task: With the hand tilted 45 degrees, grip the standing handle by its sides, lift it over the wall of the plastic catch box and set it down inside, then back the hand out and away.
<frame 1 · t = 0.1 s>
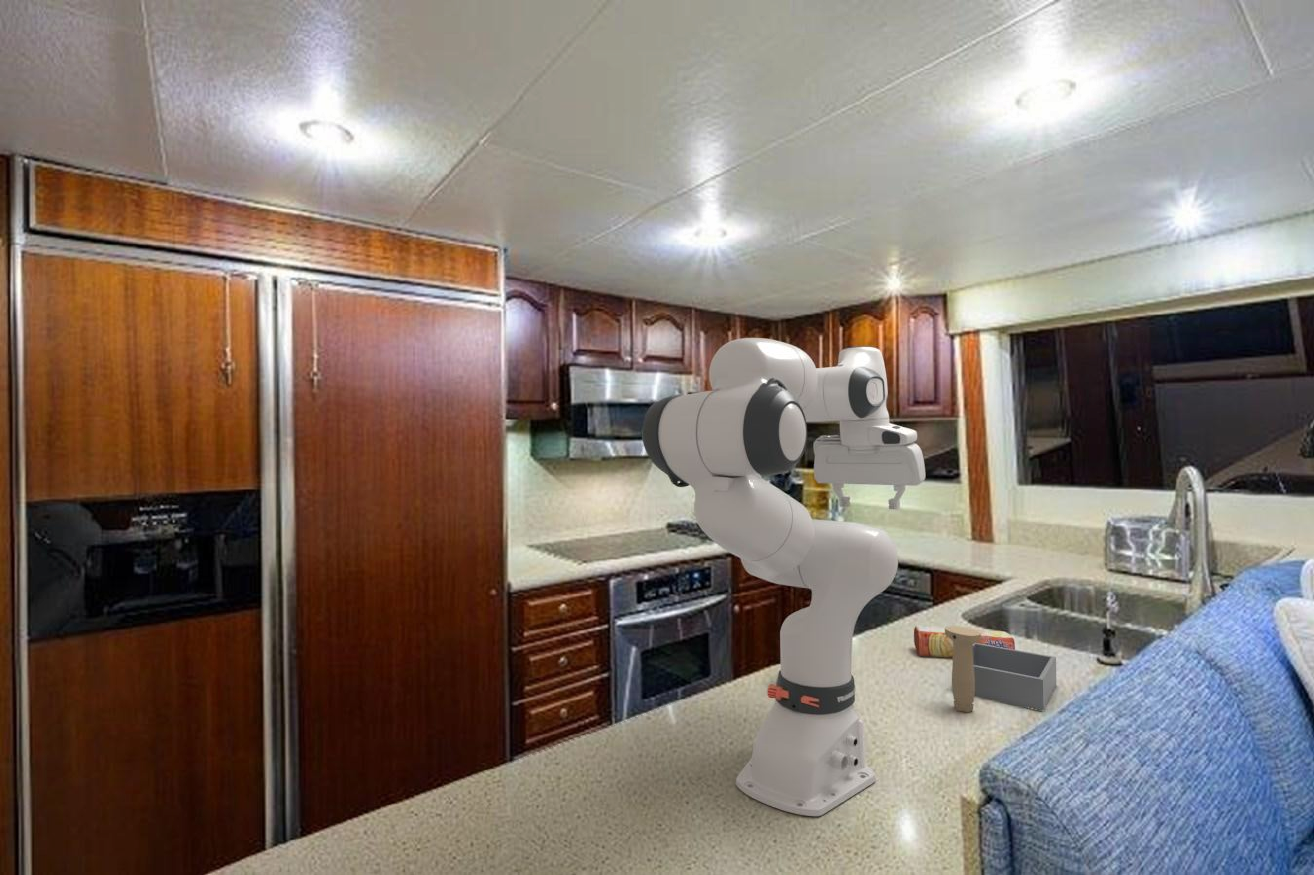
hand: (869, 507, 121), 39 cm above the countertop, tool pointing down, fingers open, 8 cm apart
supplement box: (817, 687, 136), on the countertop
catch box: (1005, 688, 133), on the countertop
snack package: (963, 658, 153), on the countertop
handle: (963, 710, 123), on the countertop
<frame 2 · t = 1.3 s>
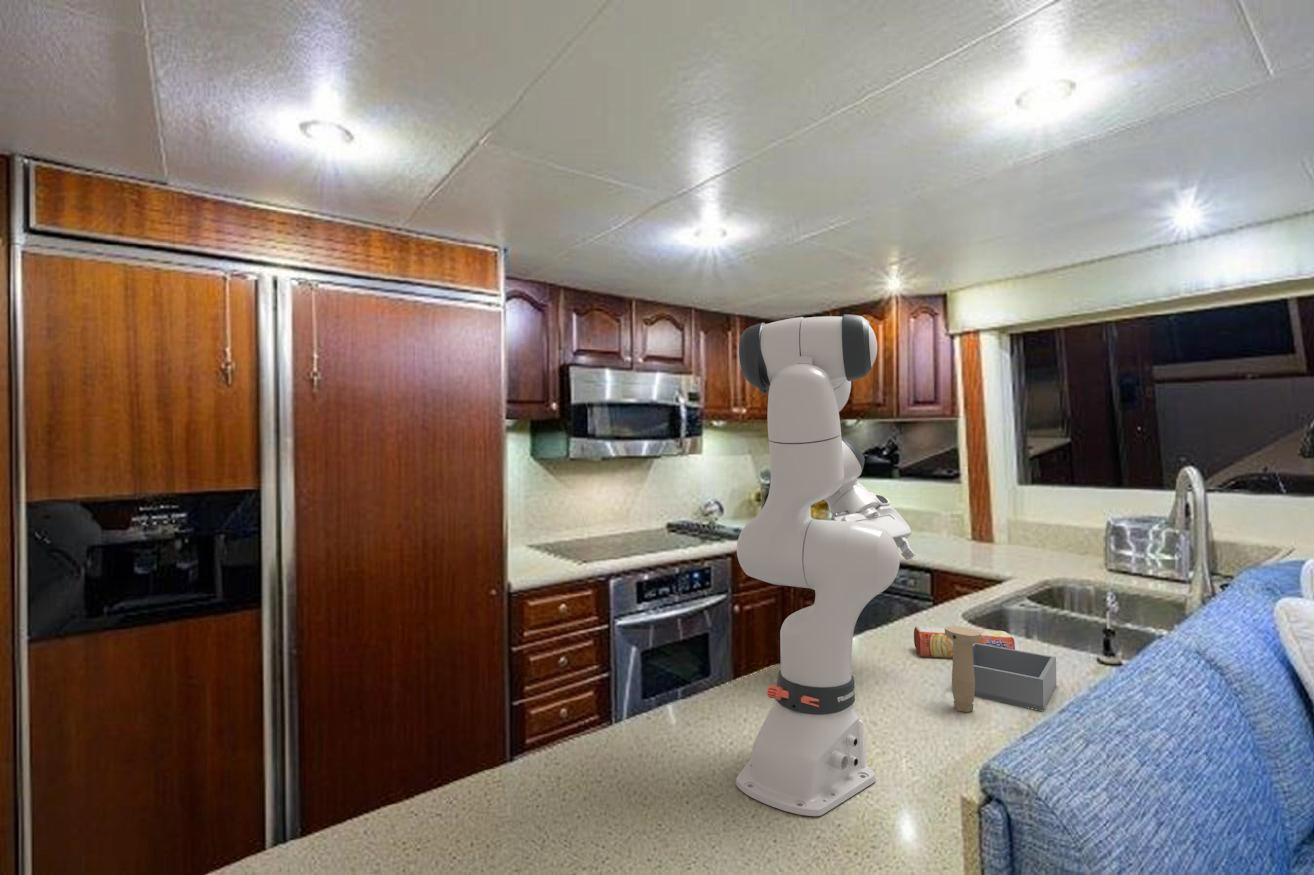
hand: (899, 561, 132), 27 cm above the countertop, tool tilted 45°, fingers open, 8 cm apart
nothing on the countertop moved.
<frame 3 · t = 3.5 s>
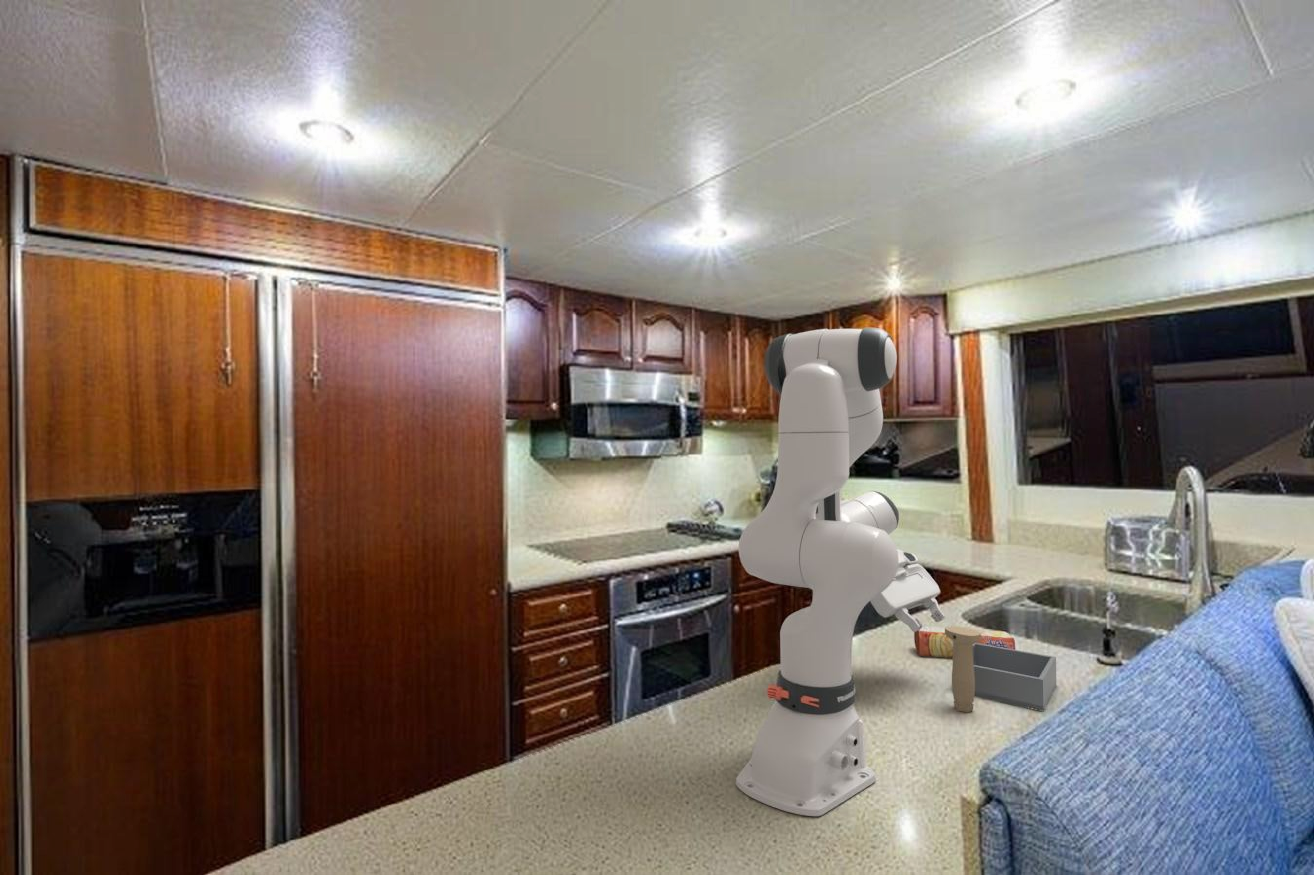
hand: (930, 624, 128), 15 cm above the countertop, tool tilted 45°, fingers open, 8 cm apart
nothing on the countertop moved.
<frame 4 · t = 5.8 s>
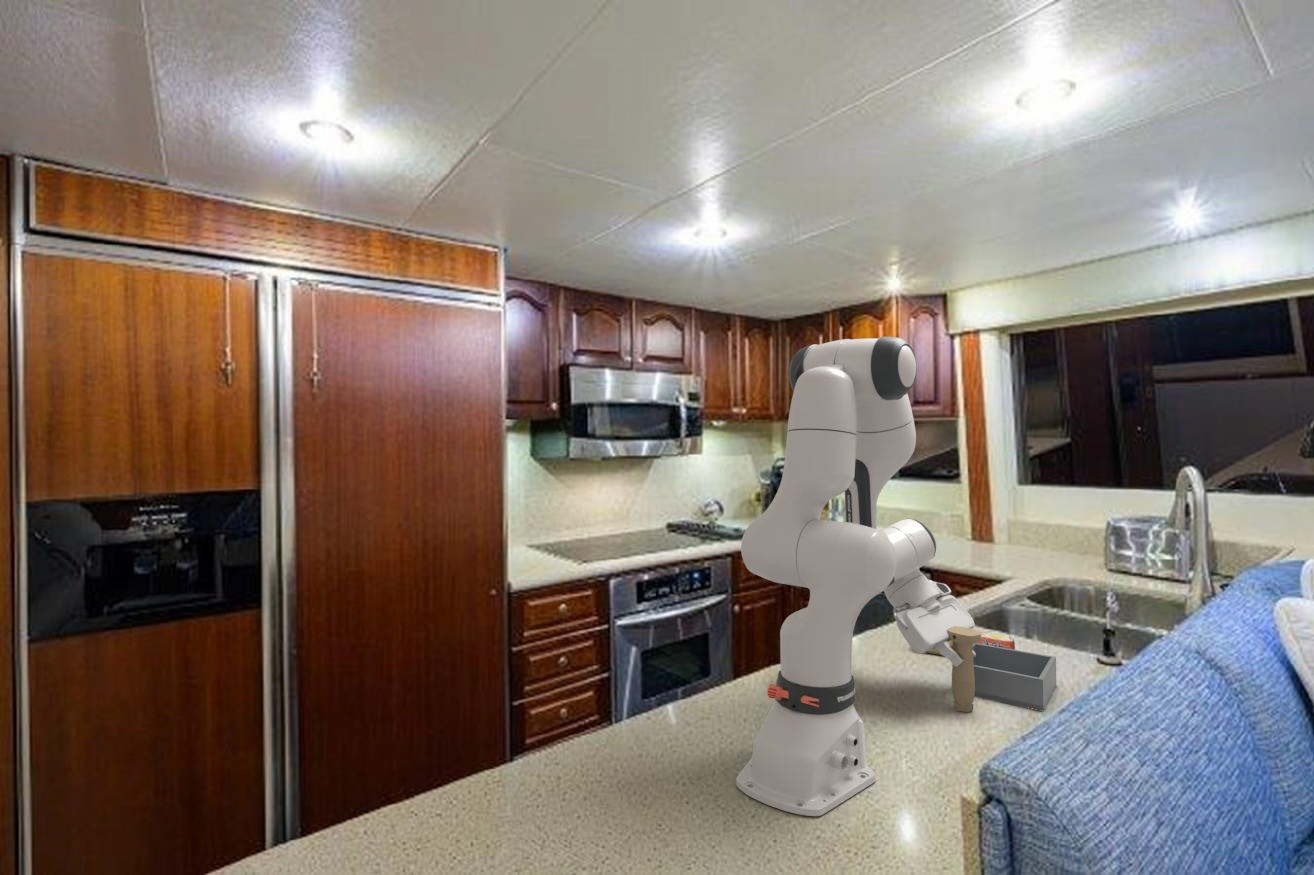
hand: (966, 661, 123), 9 cm above the countertop, tool tilted 45°, fingers closed on handle, 3 cm apart
handle: (963, 710, 123), on the countertop, touching gripper
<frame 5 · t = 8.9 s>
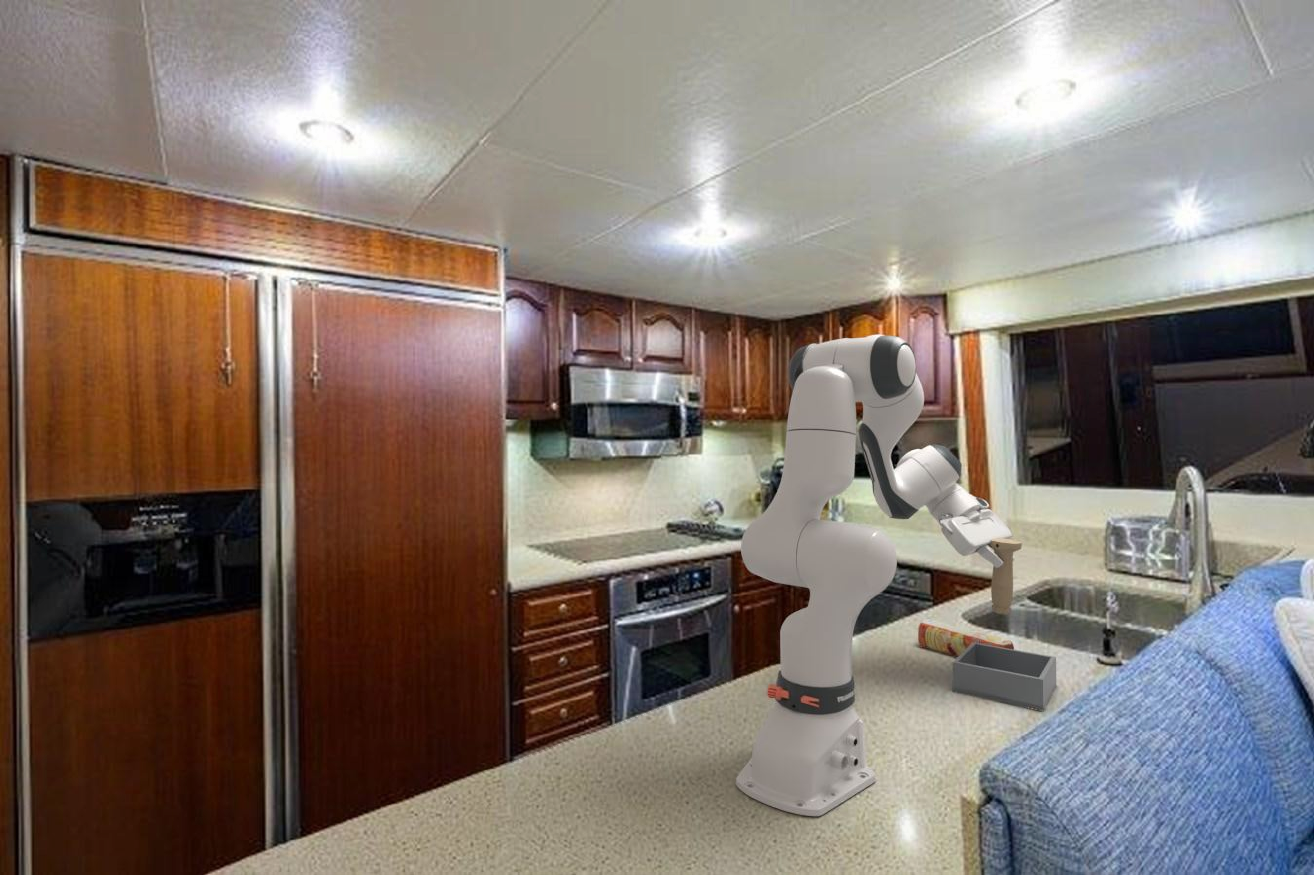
hand: (1006, 564, 133), 26 cm above the countertop, tool tilted 45°, fingers closed on handle, 3 cm apart
handle: (1001, 613, 133), point 15 cm above the countertop, touching gripper
when the fingers open (12 cm above the countertop, at t = 11.8 s): handle moves 2 cm, resting on catch box.
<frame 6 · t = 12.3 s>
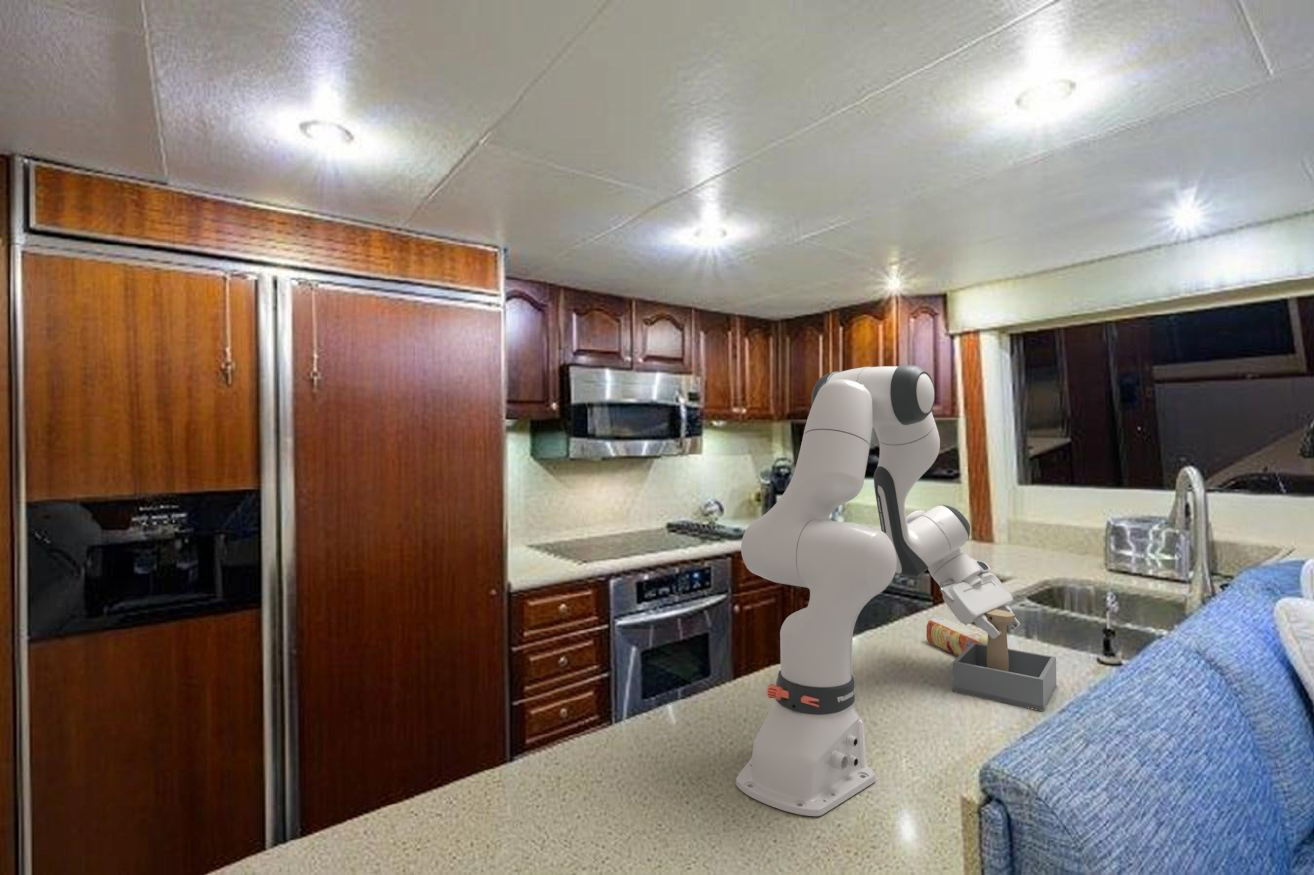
hand: (1007, 631, 132), 12 cm above the countertop, tool tilted 45°, fingers open, 8 cm apart
handle: (997, 686, 132), point 1 cm above the countertop, touching catch box
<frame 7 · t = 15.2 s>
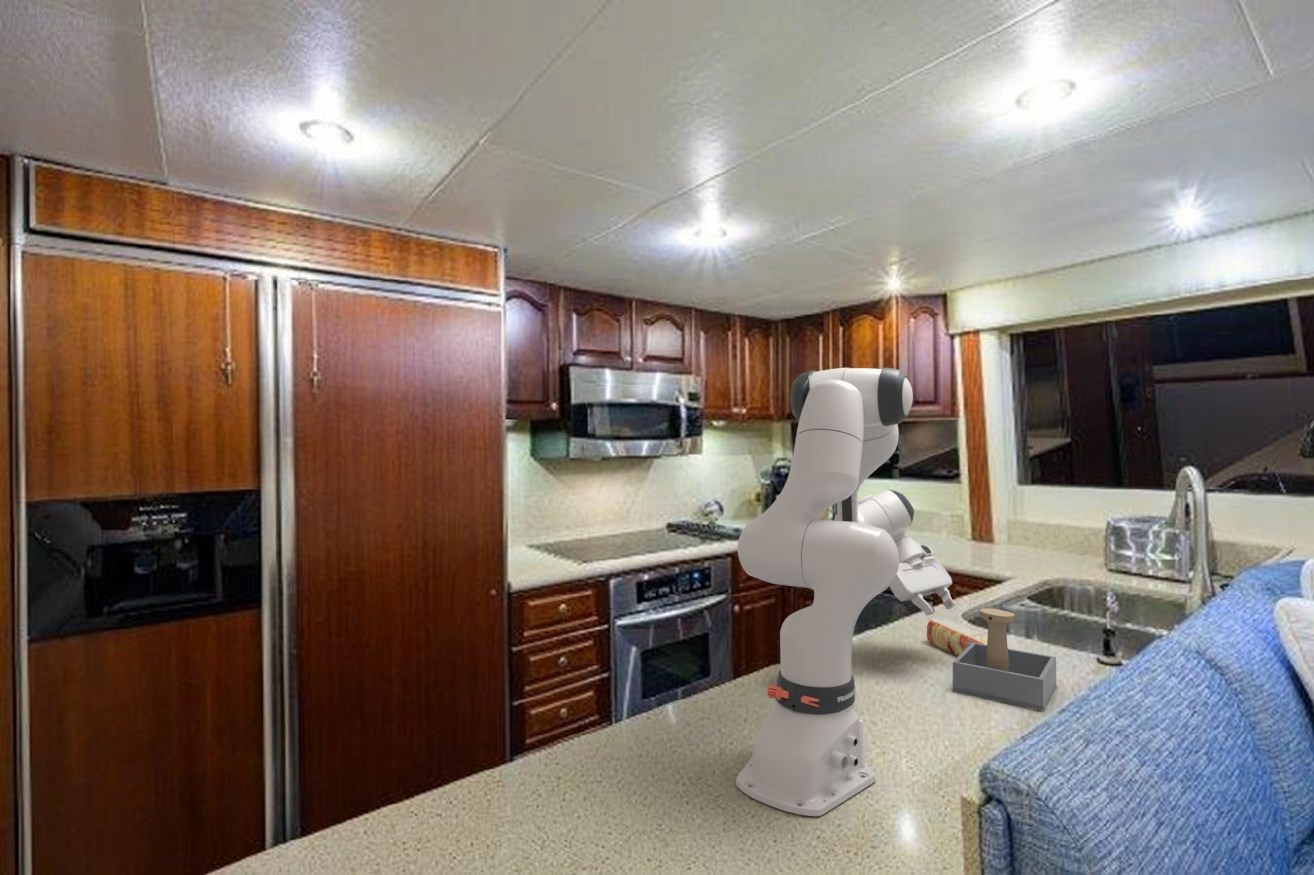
hand: (941, 610, 142), 14 cm above the countertop, tool tilted 40°, fingers open, 8 cm apart
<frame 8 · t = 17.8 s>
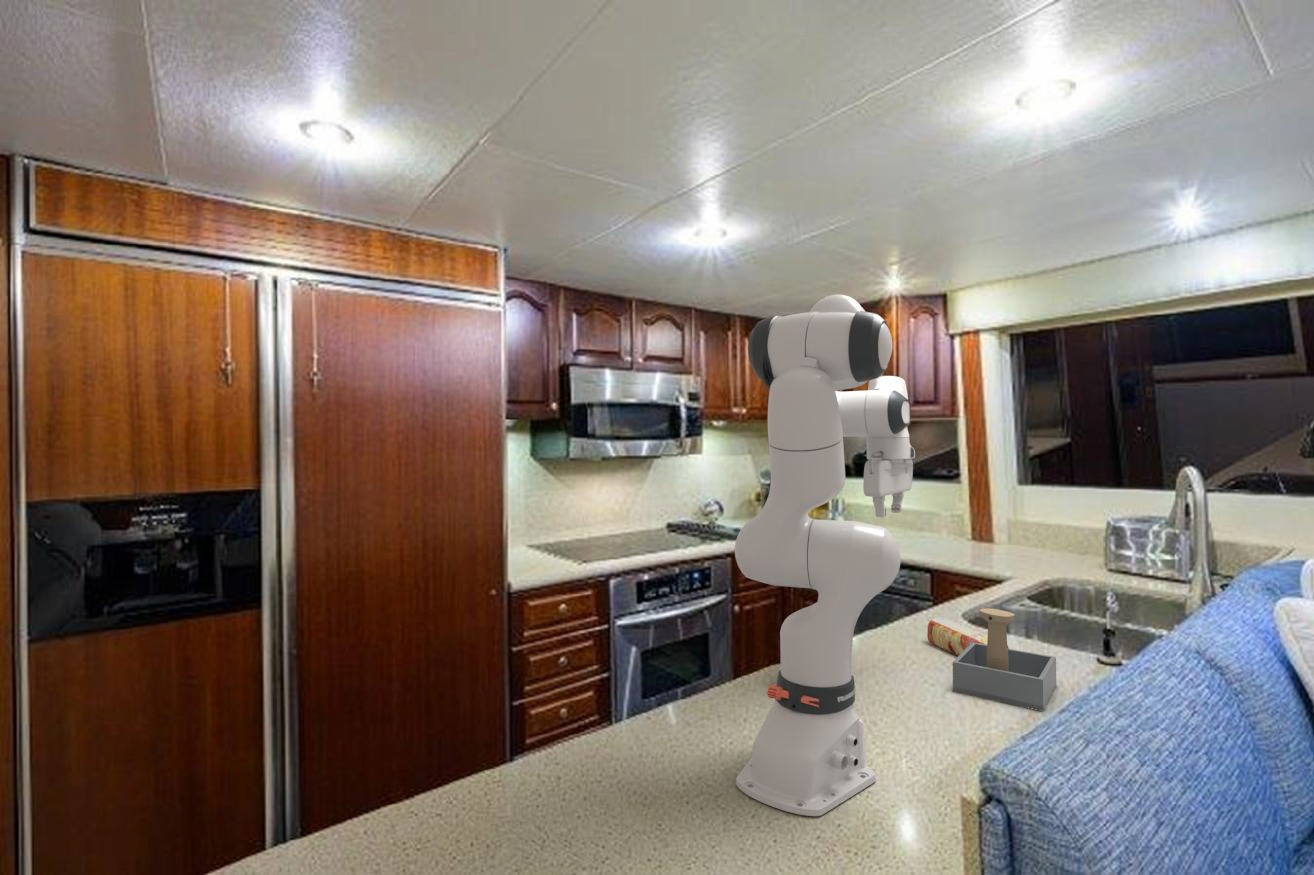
hand: (888, 514, 141), 35 cm above the countertop, tool pointing down, fingers open, 8 cm apart
at the end: handle inside the target area (2.4 cm from its centre), point 0.8 cm above the countertop; the gripper is holding nothing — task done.
